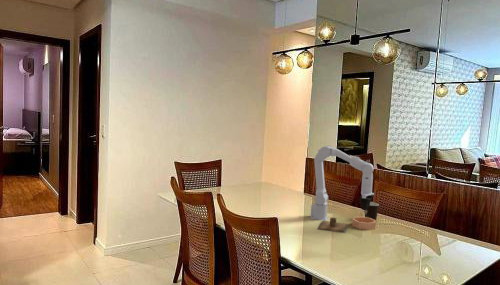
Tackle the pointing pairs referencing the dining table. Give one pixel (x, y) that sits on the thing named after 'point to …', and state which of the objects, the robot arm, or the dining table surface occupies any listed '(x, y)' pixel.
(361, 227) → the bowl
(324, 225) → the lid
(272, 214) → the dining table surface
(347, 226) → the mat
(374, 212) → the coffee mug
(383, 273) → the dining table surface
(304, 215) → the dining table surface
